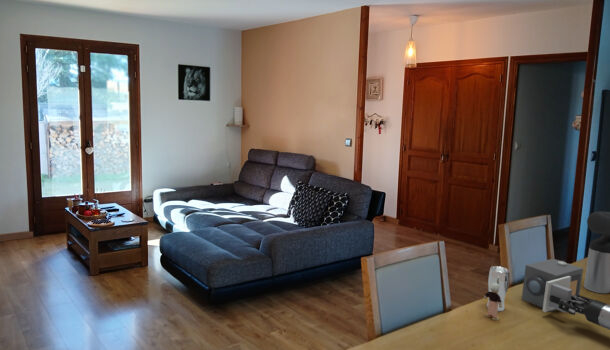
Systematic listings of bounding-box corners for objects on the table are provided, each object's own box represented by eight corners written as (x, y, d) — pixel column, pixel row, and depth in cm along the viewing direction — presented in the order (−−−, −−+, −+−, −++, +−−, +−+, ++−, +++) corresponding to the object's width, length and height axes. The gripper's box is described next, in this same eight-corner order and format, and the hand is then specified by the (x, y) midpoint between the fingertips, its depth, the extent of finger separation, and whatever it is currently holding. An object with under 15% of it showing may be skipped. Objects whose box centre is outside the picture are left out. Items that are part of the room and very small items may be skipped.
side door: (564, 303, 169) (568, 275, 168) (583, 311, 163) (588, 282, 162) (542, 311, 162) (546, 281, 161) (561, 319, 156) (565, 289, 155)
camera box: (548, 291, 186) (553, 256, 184) (579, 302, 176) (584, 266, 173) (517, 300, 175) (521, 263, 173) (547, 313, 165) (552, 274, 163)
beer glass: (505, 306, 170) (510, 268, 167) (505, 313, 164) (510, 274, 161) (486, 302, 173) (490, 264, 170) (484, 309, 166) (489, 270, 164)
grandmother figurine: (504, 319, 159) (508, 285, 157) (498, 322, 156) (502, 287, 154) (484, 311, 165) (488, 278, 163) (478, 313, 162) (482, 280, 160)
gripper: (619, 300, 150) (568, 282, 164) (595, 309, 142) (544, 289, 157) (615, 322, 151) (565, 302, 165) (592, 331, 144) (542, 310, 158)
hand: (555, 296), depth 161 cm, fingers open, 6 cm apart
